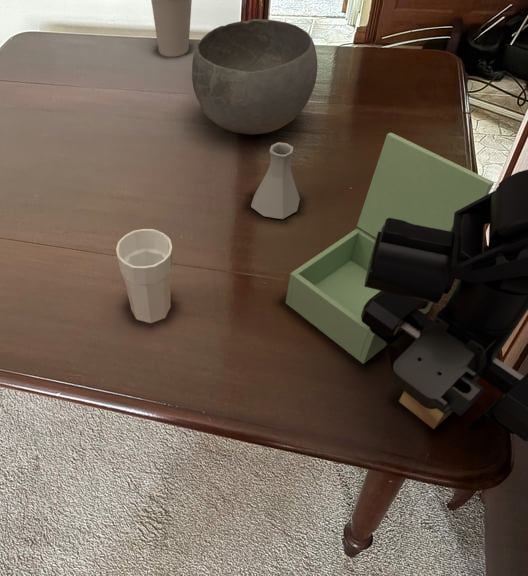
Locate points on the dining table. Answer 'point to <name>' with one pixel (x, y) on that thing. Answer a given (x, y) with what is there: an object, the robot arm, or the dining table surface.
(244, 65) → the bowl
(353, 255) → the file box
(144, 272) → the cup
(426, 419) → the block
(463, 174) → the lid
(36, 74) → the dining table surface
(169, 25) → the coffee cup
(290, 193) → the flask
